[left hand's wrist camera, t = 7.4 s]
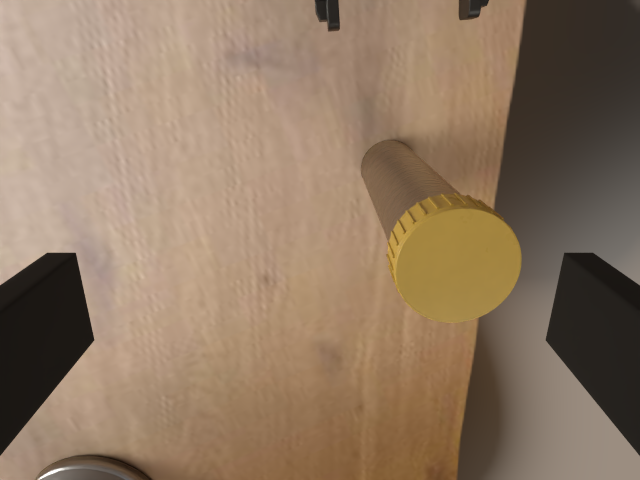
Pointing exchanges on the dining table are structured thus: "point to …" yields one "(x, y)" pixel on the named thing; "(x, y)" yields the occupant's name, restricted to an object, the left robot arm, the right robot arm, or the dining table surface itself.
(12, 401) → the left robot arm
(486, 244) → the lid
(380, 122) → the dining table surface
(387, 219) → the bottle
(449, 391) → the dining table surface
